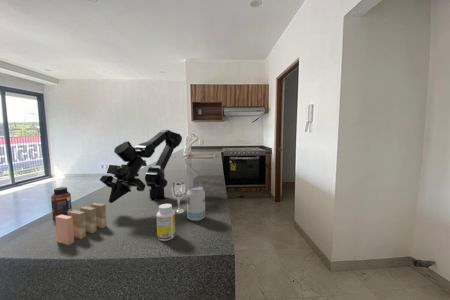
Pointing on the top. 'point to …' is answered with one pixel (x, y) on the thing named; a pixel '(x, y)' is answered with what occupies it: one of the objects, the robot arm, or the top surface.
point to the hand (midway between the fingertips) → (110, 202)
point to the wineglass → (178, 194)
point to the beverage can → (196, 203)
